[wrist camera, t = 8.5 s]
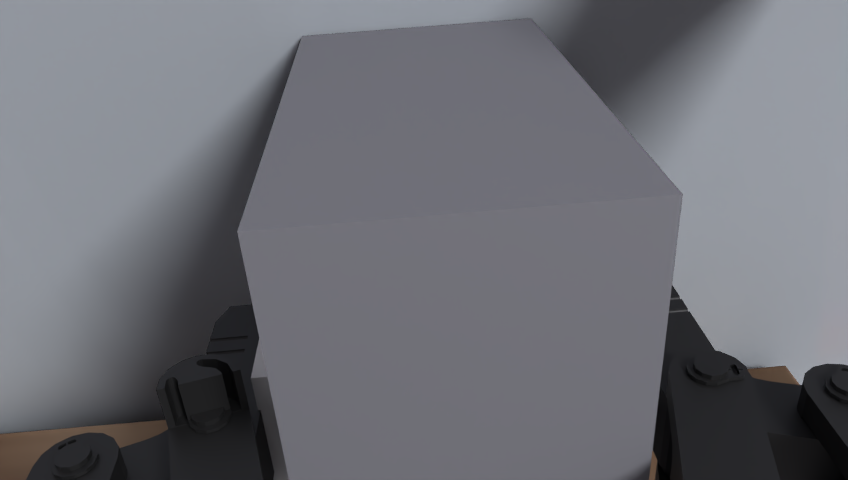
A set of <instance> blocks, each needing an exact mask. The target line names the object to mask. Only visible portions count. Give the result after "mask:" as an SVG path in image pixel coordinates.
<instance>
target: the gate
mask: <svg viewBox="0 0 848 480" xmlns="http://www.w3.org/2000/svg"><path fill="white" fill-rule="evenodd" d="M748 371H749V373H750V374H751V376H752V377H753V378H756V379H761V380H766V381H772V382H780V383H788V384H796V385H799V383H798V382H797V381H796V379H795V378H794V377H793V375H792V374H791V373H790V371H789V370H788V369H787V368H786V366H777V367H766V368H754V369H748ZM166 430H168V426H167V423H166V420H157V421H145V422H134V423H122V424H111V425H99V426H88V427H76V428H65V429H53V430H42V431H30V432H19V433H7V434H0V480H26V479H27V477H28V475H29V473H30V471H31V469H32V467H33V465H34V464H35V463H36V461H37V460H38V459H39V457H40V456H41V455H42V454H43V453H44V452H45V451H47V450H48V449H49V448H51V447H52V446H53V445H55V444H56V443H58V442H60V441H62V440H65V439H67V438H69V437H71V436H75V435H79V434H83V433H88V432H91V433H104V434H106V435H109V436H111V437H113V438H114V439H115V441H116V443H117V444H118V446H119V448H121V447H125V446H128V445H131V444H134V443H137V442H140V441H143V440H146V439H149V438H151V437H154V436H156V435H159V434H161V433H162V432H164V431H166ZM656 467H657V458H656V456H655V454H654V452H653V450H652V458H651V467H650V475H649V480H655V475H656Z"/></svg>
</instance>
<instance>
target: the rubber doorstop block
mask: <svg viewBox="0 0 848 480" xmlns="http://www.w3.org/2000/svg"><path fill="white" fill-rule="evenodd" d="M682 196H683V194H682V193H681V192H680V191H679V189H678V188H677V187H676V186H675V185H674V184H673V182H672V181H671V180H670V179H669V178H668V177H667V175H666V174H665V173H664V172H663V171H662V170H661V169H660V167H659V166H658V165H657V164H656V163H655V162H654V160H653V159H652V158H651V157H650V156H649V155H648V153H647V152H646V151H645V150H644V149H643V148H642V146H641V145H640V144H639V143H638V142H637V141H636V139H635V138H634V137H633V136H632V135H631V134H630V133H629V131H628V130H627V129H626V128H625V127H624V126H623V124H622V123H621V122H620V121H619V120H618V119H617V117H616V116H615V115H614V114H613V113H612V112H611V110H610V109H609V108H608V107H607V106H606V105H605V104H604V102H603V101H602V100H601V99H600V98H599V97H598V95H597V94H596V93H595V92H594V91H593V90H592V88H591V87H590V86H589V85H588V84H587V83H586V81H585V80H584V79H583V78H582V77H581V76H580V74H579V73H578V72H577V71H576V70H575V69H574V68H573V66H572V65H571V64H570V63H569V62H568V61H567V59H566V58H565V57H564V56H563V55H562V54H561V52H560V51H559V50H558V49H557V48H556V47H555V45H554V44H553V43H552V42H551V41H550V40H549V39H548V37H547V36H546V35H545V34H544V33H543V32H542V30H541V29H540V28H539V27H538V26H537V25H536V23H535V22H534V21H533V20H532V19H531V18H530V19H517V20H504V21H491V22H478V23H465V24H452V25H440V26H427V27H414V28H401V29H388V30H375V31H362V32H349V33H336V34H323V35H311V36H302V38H301V41H300V44H299V47H298V50H297V53H296V56H295V59H294V62H293V65H292V68H291V71H290V74H289V77H288V80H287V83H286V86H285V89H284V92H283V95H282V98H281V101H280V104H279V107H278V110H277V113H276V116H275V119H274V122H273V125H272V128H271V131H270V134H269V137H268V140H267V143H266V146H265V149H264V152H263V155H262V158H261V161H260V165H259V168H258V171H257V174H256V177H255V180H254V183H253V186H252V189H251V192H250V195H249V198H248V201H247V204H246V207H245V210H244V213H243V216H242V219H241V222H240V225H239V228H238V231H237V233H238V238H239V243H240V248H241V252H242V257H243V262H244V267H245V272H246V276H247V281H248V286H249V291H250V296H251V300H252V305H253V310H254V315H255V319H256V324H257V329H258V334H259V339H260V343H261V348H262V353H263V358H264V363H265V367H266V372H267V377H268V382H269V387H270V391H271V396H272V401H273V406H274V411H275V415H276V420H277V425H278V430H279V435H280V439H281V444H282V449H283V454H284V459H285V463H286V468H287V473H288V478H289V480H649V475H650V467H651V458H652V450H653V441H654V433H655V424H656V416H657V407H658V399H659V390H660V382H661V374H662V365H663V357H664V348H665V340H666V331H667V323H668V314H669V306H670V297H671V289H672V280H673V272H674V263H675V255H676V246H677V238H678V230H679V221H680V213H681V204H682Z"/></svg>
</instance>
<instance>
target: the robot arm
mask: <svg viewBox="0 0 848 480" xmlns="http://www.w3.org/2000/svg"><path fill="white" fill-rule="evenodd" d="M206 353H207V355H200V356H195V357H192V358H189V359H187V360H184V361H181V362H179V363H178V364H176V365H175V366H173V367H172V368H170V369H168V370H167V372H166V373H165V374H164V375H163V376H162V377H161V378H160V380H159V383H158V386H157V390H156V391H157V394H158V397H159V400H160V404H161V407H162V410H163V413H164V417H165V420H166V423H167V426H168V430H166V431H164V432H162V433H161V434H159V435H156V436H154V437H151V438H149V439H146V440H143V441H140V442H137V443H134V444H131V445H128V446H125V447H121V448H119V446H118V444H117V443H116V441H115V439H114V438H113V437H111V436H109V435H106V434H104V433H91V432H88V433H83V434H79V435H75V436H71V437H69V438H67V439H65V440H62V441H60V442H58V443H56V444H55V445H53V446H52V447H51V448H49V449H48V450H47V451H45V452H44V453H43V454H42V455H41V456H40V457H39V459H38V460H37V461H36V463H35V464H34V465H33V467H32V469H31V471H30V473H29V475H28V477H27V479H26V480H289V478H288V473H287V468H286V463H285V459H284V454H283V449H282V444H281V439H280V435H279V430H278V425H277V420H276V415H275V411H274V406H273V401H272V396H271V391H270V387H269V382H268V377H267V372H266V367H265V363H264V358H263V353H262V348H261V343H260V339H259V334H258V329H257V324H256V319H255V315H254V310H253V305H245V306H234V307H230V308H229V309H228V310H227V311H226V312H225V313H224V314H223V315H222V316H221V317H220V318H219V319H218V320H217V321H216V323H215V326H214V329H213V333H212V336H211V342H209V345H208V349H207V352H206ZM653 452H654V454H655V456H656V458H657V467H656V475H655V480H848V366H847V365H842V364H824V365H820V366H815V367H813V368H811V369H810V370H809V371H808V372H806V373H805V376H804V380H803V384H802V385H796V384H788V383H780V382H772V381H766V380H761V379H756V378H753V377H752V376H751V374H750V373H749V371H748V369H747V368H746V366H745V365H743V364H742V363H741V362H740V361H738V360H737V359H736V358H734V357H732V356H730V355H727V354H725V353H722V352H720V351H715V350H714V348H713V346H712V345H711V343H710V342H709V340H708V339H707V337H706V336H705V334H704V333H703V331H702V330H701V328H700V327H699V325H698V324H697V322H696V321H695V319H694V318H693V316H692V315H691V313H690V312H688V308H687V307H686V305H685V304H684V302H683V301H682V299H680V296H679V295H678V293H677V292H676V290H675V289H674V287H673V286H672V289H671V297H670V306H669V314H668V323H667V331H666V340H665V348H664V357H663V365H662V374H661V382H660V390H659V399H658V407H657V416H656V424H655V433H654V441H653Z"/></svg>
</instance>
